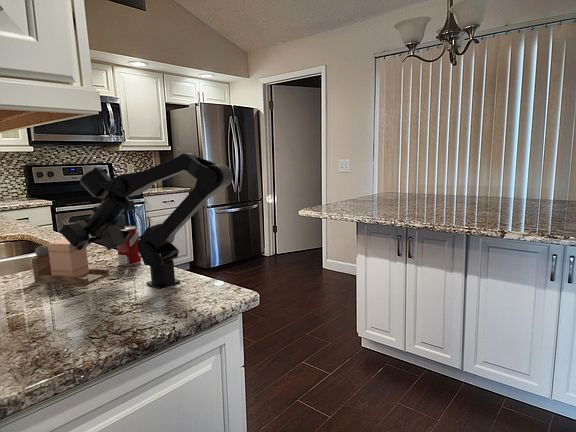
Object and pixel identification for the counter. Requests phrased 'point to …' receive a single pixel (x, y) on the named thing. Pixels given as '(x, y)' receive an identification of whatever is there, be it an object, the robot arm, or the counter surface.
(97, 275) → the bay
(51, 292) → the counter surface
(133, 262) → the soda can
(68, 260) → the pink box
